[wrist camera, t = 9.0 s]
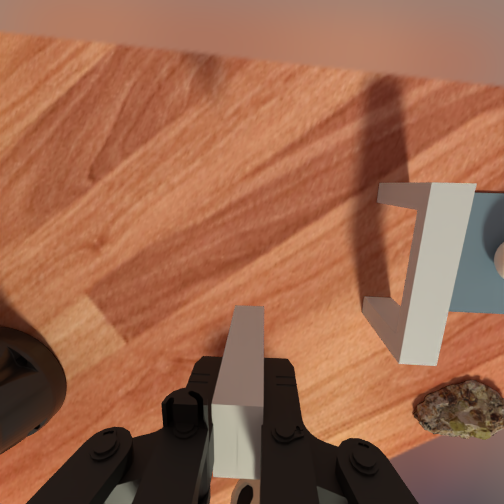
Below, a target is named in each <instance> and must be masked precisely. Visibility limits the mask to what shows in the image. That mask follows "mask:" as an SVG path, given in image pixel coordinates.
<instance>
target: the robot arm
mask: <svg viewBox="0 0 504 504" xmlns="http://www.w3.org/2000/svg"><path fill="white" fill-rule="evenodd" d="M65 396H66V381H65V376H64V373H63V371H62V368H61V366H60V364H59V363H58V361H57V360H56V358H55V357H54V355H53V354H52V353H51V352H50V351H49V350H48V349H47V348H46V347H45V346H44V345H43V344H42V343H40V342H39V341H38V340H36V339H35V338H33V337H31V336H29V335H27V334H25V333H23V332H21V331H18V330H15V329H11V328H6V327H0V455H1V454H2V453H4V452H5V451H7V450H8V449H10V448H12V447H13V446H15V445H16V444H18V443H19V442H21V441H22V440H23V439H25V438H26V437H27V436H30V435H32V434H34V433H35V432H37V431H38V430H40V429H41V428H42V427H43V426H45V425H46V424H47V423H48V421H49V420H50V419H51V418H52V417H53V416H54V415H55V414H56V413H57V412H58V411H59V409H60V408H61V406H62V405H63V402H64V400H65ZM161 404H162V417H163V428H162V429H160V430H158V431H156V432H153V433H150V434H146V435H142V436H138V437H134V438H132V436H131V434H130V432H129V431H128V430H126V429H125V428H123V427H111V428H107V429H104V430H102V431H100V432H98V433H96V434H94V435H93V436H92V437H91V438H89V439H88V440H87V441H86V442H85V443H84V444H83V445H82V446H81V447H80V448H79V449H78V450H77V451H76V452H75V453H74V454H73V455H72V456H71V457H70V458H69V459H68V460H67V461H66V462H65V464H64V465H63V466H62V467H61V468H60V469H59V470H58V471H57V472H56V473H55V474H54V475H53V476H52V477H51V478H50V479H49V480H48V481H47V482H46V483H45V484H44V485H43V486H42V487H41V488H40V489H39V490H38V491H37V493H36V494H35V495H34V496H33V497H32V498H31V499H30V500H29V501H28V502H27V503H26V504H209V503H210V482H211V476H212V471H213V477H224V478H240V479H257V480H260V501H259V504H418V502H417V501H416V499H415V498H414V496H413V495H412V494H411V492H410V490H409V489H408V488H407V486H406V485H405V483H404V482H403V480H402V479H401V477H400V476H399V474H398V473H397V472H396V470H395V469H394V467H393V466H392V464H391V463H390V461H389V460H388V458H387V457H386V456H385V455H384V454H383V453H382V451H381V450H380V449H379V448H378V447H376V446H375V445H373V444H372V443H370V442H368V441H365V440H362V439H359V438H349V439H347V440H345V441H342V443H341V444H340V445H339V447H337V446H334V445H332V444H329V443H326V442H324V441H321V440H319V439H317V438H316V437H315V436H313V435H312V434H311V433H310V432H309V431H308V430H307V429H306V427H305V425H304V424H303V420H302V416H301V410H300V403H299V397H298V391H297V384H296V379H295V371H294V367H293V365H292V364H291V363H290V361H289V360H288V359H280V358H264V306H236V305H235V309H234V313H233V317H232V321H231V326H230V330H229V334H228V338H227V342H226V346H225V350H224V354H223V357H211V356H203V357H202V358H201V359H200V360H199V361H197V362H196V363H195V365H194V368H193V370H192V373H191V376H190V378H189V381H188V383H187V386H186V388H181V389H179V390H176V391H173V392H172V393H171V394H169V395H168V396H166V398H165V399H164V400H163V402H162V403H161Z"/></svg>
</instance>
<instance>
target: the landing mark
mask: <svg viewBox="0 0 504 504" xmlns="http://www.w3.org/2000/svg"><path fill="white" fill-rule="evenodd" d="M503 242H504V193H474V198H473V202H472V207H471V212H470V216H469V221H468V225H467V230H466V234H465V239H464V243H463V248H462V252H461V257H460V261H459V266H458V271H457V275H456V280H455V284H454V289H453V293H452V298H451V302H450V307H449V311H452V312H474V313H495V314H504V279H503V278H502V277H501V276H500V275H499V273H498V272H497V270H496V268H495V264H494V256H495V253H496V251H497V249H498V247H499V246H500V245H501V244H502V243H503Z"/></svg>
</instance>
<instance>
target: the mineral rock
mask: <svg viewBox="0 0 504 504" xmlns="http://www.w3.org/2000/svg"><path fill="white" fill-rule="evenodd" d="M413 415H414V417H415V418H416V419H417V420H418V421H419V423H420V425H422V427H423V428H424V430H428V431H429V432H432V433H433V434H440V435H448V436H451V437H456V436H460V437H461V438H467V439H468V438H469V437H476V438H480V439H483V440H485V439H488V438H490V437H491V436H493V435H494V434H495V433H496V432H497V431H498V430H502V429H504V399H503V398H502V397H501V396H500V394H499V393H498V392H497V391H495V390H493V389H491V388H490V387H488V386H486V385H484V384H482V383H478V382H477V381H475V380H474V381H473V380H470V381H466V382H463V383H460V384H453V385H449V386H447V387H446V388H442V389H441V390H439V391H437V392H434V393H432V394H428V395H427V396H426V397H425V401H424V402H423V403H420V404H419V405H417V411H416V412H415V413H414V414H413Z"/></svg>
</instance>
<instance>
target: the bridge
mask: <svg viewBox="0 0 504 504" xmlns="http://www.w3.org/2000/svg"><path fill="white" fill-rule="evenodd" d="M475 189H476V184H471V183H379V189H378V197H377V203H382V204H388V205H393V206H399V207H404V208H410V209H415V210H418V211H417V216H416V222H415V228H414V234H413V240H412V245H411V251H410V257H409V263H408V269H407V274H406V280H405V286H404V292H403V298H402V303H401V306H400V305H398V304H397V303H396V302H395V301H394V300H393V299H392V298H387V297H365V296H364V301H363V308H362V313H363V315H364V316H365V318H366V319H367V320H368V322H369V323H370V324H371V326H372V327H373V329H374V330H375V331H376V333H377V334H378V336H379V337H380V338H381V340H382V341H383V342H384V344H385V345H386V347H387V348H388V349H389V351H390V352H391V353H392V355H393V356H394V358H395V359H396V360H397V362H398V363H399V364H412V365H429V366H437V361H438V357H439V352H440V348H441V343H442V339H443V334H444V330H445V325H446V321H447V316H448V311H449V307H450V302H451V298H452V293H453V289H454V284H455V280H456V275H457V271H458V266H459V261H460V257H461V252H462V248H463V243H464V239H465V234H466V230H467V225H468V221H469V216H470V212H471V207H472V202H473V198H474V193H475Z"/></svg>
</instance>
